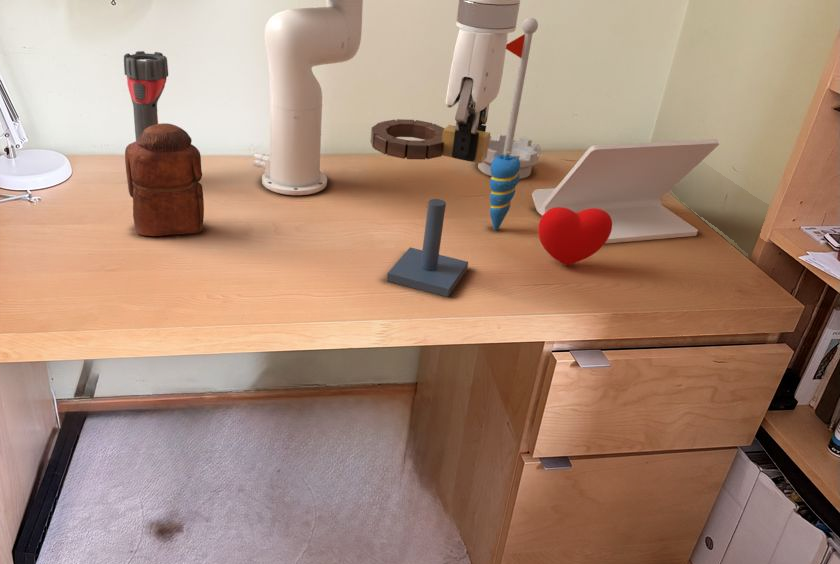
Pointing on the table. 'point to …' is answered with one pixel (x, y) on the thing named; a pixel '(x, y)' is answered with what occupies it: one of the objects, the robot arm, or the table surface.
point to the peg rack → (429, 259)
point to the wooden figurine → (165, 182)
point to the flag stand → (516, 112)
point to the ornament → (502, 186)
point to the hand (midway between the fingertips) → (467, 154)
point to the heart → (574, 233)
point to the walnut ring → (432, 146)
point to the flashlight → (145, 86)
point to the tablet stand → (629, 186)
